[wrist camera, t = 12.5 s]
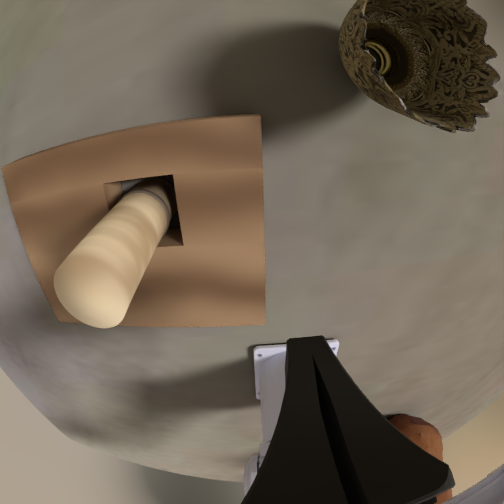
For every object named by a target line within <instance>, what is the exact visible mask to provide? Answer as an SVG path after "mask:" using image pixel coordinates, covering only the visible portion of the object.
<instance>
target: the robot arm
mask: <svg viewBox="0 0 504 504" xmlns="http://www.w3.org/2000/svg"><path fill="white" fill-rule="evenodd" d="M338 347H339V342H338V340H336V339H333V340H326V339H325V337H324V336H312V337H302V338H290V339H289V340H287V344H281V345H266V346H256V347H255V348H254V350H253V351H254V369H255V386H256V398H257V399H259V400H260V401H261V418H262V434H263V443H262V444H259V449H260V454H253V455H252V456H251V458H250V459H249V460H248V461H247V462H246V465H245V471H244V489H245V498H244V499H243V501H242V503H241V504H434V503H436V502H437V498H436V496H437V495H439V494H441V493H443V492H445V491H447V490H449V489H451V488H453V487H454V486H455V481H454V478H453V475H452V472H451V470H450V468H449V465H447V464H446V463H444V462H442V461H441V460H439V459H437V458H436V457H434V456H433V455H431V454H429V453H428V452H426V451H425V450H423V449H422V448H421V447H419V446H418V445H416V444H415V443H414V442H413V441H411V440H410V439H409V438H408V437H406V436H405V435H404V434H403V433H402V432H400V431H399V430H398V429H397V428H396V427H394V426H393V425H392V424H391V423H390V422H389V421H388V420H387V419H386V418H385V417H384V416H383V415H382V414H381V413H380V412H379V411H378V410H377V409H376V408H375V407H374V405H373V404H372V403H371V402H370V401H369V400H368V399H367V397H366V396H365V395H364V394H363V393H362V391H361V390H360V389H359V388H358V386H357V385H356V384H355V383H354V381H353V380H352V378H351V377H350V376H349V374H348V373H347V372H346V370H345V369H344V367H343V366H342V365H341V363H340V362H339V360H338V359H337V357H336V354H337V351H338ZM441 504H504V464H503V465H501V466H500V467H498V468H497V469H495V470H494V471H493V472H491V473H490V474H488V475H487V477H486V478H484V479H483V480H481V481H480V482H478V483H477V484H475V485H473V486H472V487H470V488H468V489H467V490H465V491H463V492H462V493H460V494H458V495H456V496H454V497H453V498H451V499H449V500H447V501H445V502H443V503H441Z"/></svg>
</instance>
